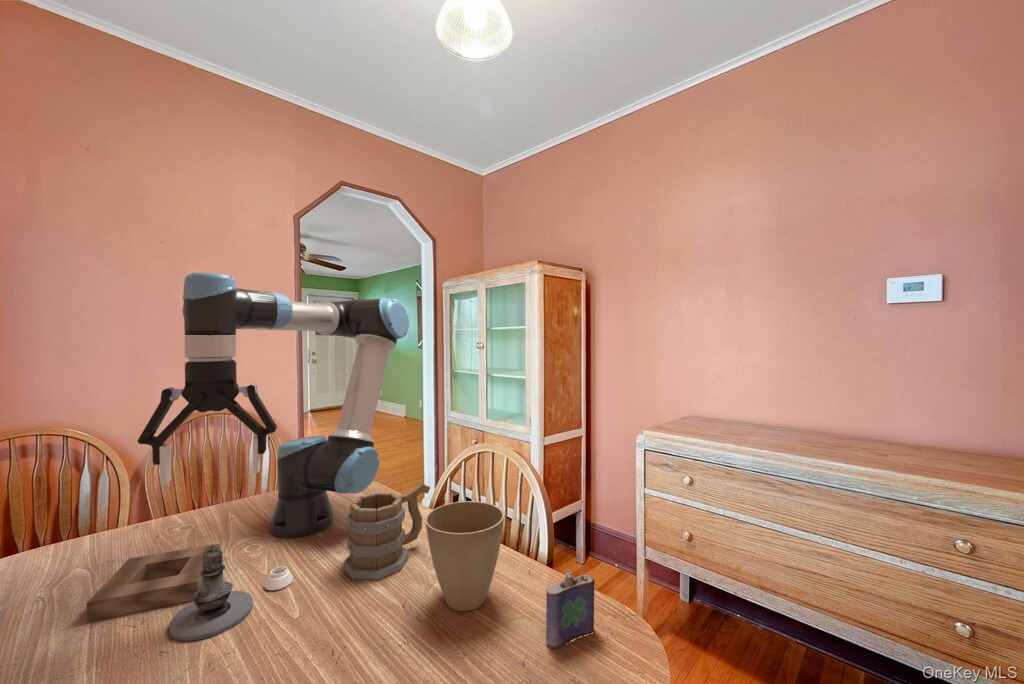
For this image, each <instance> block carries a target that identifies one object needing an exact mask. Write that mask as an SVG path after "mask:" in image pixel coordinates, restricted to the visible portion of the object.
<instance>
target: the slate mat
mask: <svg viewBox="0 0 1024 684" xmlns="http://www.w3.org/2000/svg"><path fill="white" fill-rule="evenodd" d="M253 600H254V599H253V596H252V595H251V594H250V593H249V592H247V591H242V590H231V592H230V595H229V598H228V599H227V600H226V601H227V602H229V603H230V604H231V607H230V609H229V610H228V611H227V612H226V613H225V614H223V615H222V616H220V617H218V618H215V619H212V620H208V621H197V620H196V619H195V617H194V616H195V614H196V612H197V611H198V610H200V609H198V608H197V607H196V605H195V602H194V601H192V603H189V604H188V605H186V606H185V607H184V608H182V609H180V610H179V611H178V612H177V613H176V614H175V615H174V616H173V617H172V619H171V620H170V622H169V626H168V627H169V635H170V638H172V639H174V640H175V641H180V642H194V641H201V640H204V639H209V638H211V637H215V636H218V635H220V634H221V633H225V632H227V631H228V630H230V629H233V628H234V627H235V626H237V625H239V624H240V623H242V621H243V620H245V619H246V618H247V617H248V616H249V614H250V613H251V612H252V610H253V605H254V604H253V603H254V601H253Z"/></svg>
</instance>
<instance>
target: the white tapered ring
mask: <svg viewBox="0 0 1024 684" xmlns="http://www.w3.org/2000/svg"><path fill="white" fill-rule="evenodd" d="M293 581H294V576H293V574H292V573H291V572H290V570H289V569H288V567H287V566H283V565H282V566H278V567H275V568H273V569H272V570H270V572H269V574H268V576H267V578H266V580H265V582H264V586H263V587H264V589H265V590H268V591H279V590H281V589H284V588H287V587H288V586H290V585H291V584H292V583H293Z"/></svg>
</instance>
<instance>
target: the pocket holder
mask: <svg viewBox="0 0 1024 684" xmlns="http://www.w3.org/2000/svg"><path fill="white" fill-rule="evenodd" d="M211 545H212V544H209V545H204V546H202V545H201V546H197V547H192V548H191V547H190V548H185V549H179V550H173V551H166V552H161V553H155V554H154V553H153V554H148V555H143V556H136V557H135V556H134V557H129V558H128V559H127V560H126V561H125V562H124V563H123V564H122V566H120V568H119V569H118V570H116V572H115V573H114V574H113V575H112V576H110V578H109V579H108V580H107V581H106V582H105V583H104V584H103V585H102V587H101V588H100V589H99V590H97V591H96V593H95V594H94V595H93V596H92V597H90V599H88V600H87V602H86V623H91V622H96V621H97V622H98V621H102V620H107V619H111V618H117V617H121V615H122V616H126V615H130V613H131V614H135V613H140V612H145V611H149V610H155V609H159V608H163V607H164V608H165V607H169V606H175V605H179V604H183V603H189V602H194V601H193V600H192V597H193V595H194V593H195V592H196V591H198V590H199V589H201V588H202V576H201V575H200V573H201V571H202V570H203V555H204V553H205V552H206V551H208V550H210V549H211V548H210V547H211ZM213 545H214V546H215V547H214V548H218V549H221V543H215V544H213ZM125 614H126V615H125Z"/></svg>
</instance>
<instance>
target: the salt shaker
mask: <svg viewBox="0 0 1024 684" xmlns="http://www.w3.org/2000/svg"><path fill="white" fill-rule="evenodd" d="M210 545H211V547H210V548H211V549H210V550H208V551H206V552H205V553H204V555H203V570H202V571H201V573H200V575H201V576H202V588H201V589H199V590H198V591H196V592H195V593H194V595H193V597H192V600H193V601H192V602H195V605H196V607H197V608H198V609H200V610H198V611H197V612H196V614H195V616H194V617H195V619H196V620H197V621H208V620H212V619H215V618H218V617H220V616H222V615H223V614H225V613H226V612H227V611H228V610H229V609H230V607H231V604H230V603H229V602H227V601H226V600H227V599H228V598H229V595H230V592H231V591H232V589H233V587H234V586H233V584H232V583H231V582H229V581H225V580H224V570H225V568H226V565H224V564H223V551H222V549H221V548H220V549H218V548H214V547H215V546H214V544H210Z"/></svg>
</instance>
